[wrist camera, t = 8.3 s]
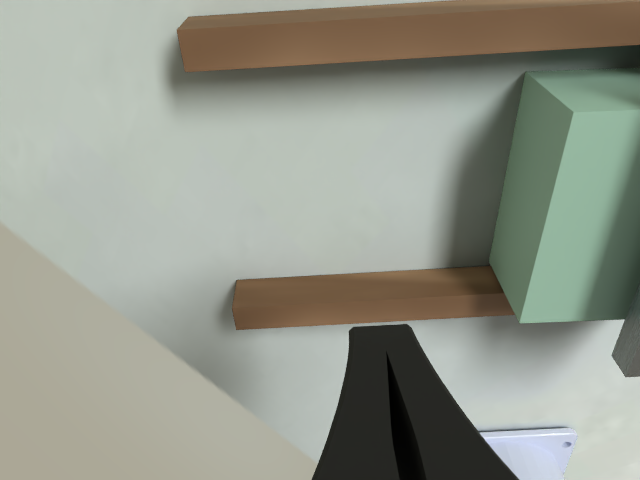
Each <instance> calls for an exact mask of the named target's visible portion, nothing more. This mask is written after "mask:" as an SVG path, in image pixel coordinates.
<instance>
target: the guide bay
mask: <svg viewBox="0 0 640 480" xmlns="http://www.w3.org/2000/svg"><path fill="white" fill-rule="evenodd" d="M177 34H178V39H179V44H180V49H181V54H182V59H183V64H184V69H185V72H196V71H213V70H229V69H246V68H263V67H279V66H296V65H312V64H329V63H345V62H362V61H378V60H395V59H411V58H428V57H444V56H461V55H478V54H494V53H511V52H527V51H544V50H560V49H577V48H593V47H610V46H626V45H640V0H453V1H437V2H421V3H405V4H388V5H372V6H356V7H340V8H324V9H307V10H291V11H275V12H259V13H243V14H226V15H210V16H194V17H188V18H187V19H186V20H185V21H184V22H183V23H182V25H181V26H180V27H179V28H178V29H177ZM232 311H233V316H234V321H235V326H236V330H244V329H262V328H281V327H299V326H317V325H336V324H354V323H372V322H391V321H409V320H428V319H446V318H464V317H483V316H501V315H515V313H514V311H513V309H512V307H511V305H510V303H509V301H508V299H507V297H506V295H505V293H504V291H503V289H502V287H501V285H500V283H499V281H498V279H497V277H496V275H495V273H494V271H493V269H492V267H491V266H480V267H462V268H444V269H426V270H408V271H390V272H372V273H354V274H336V275H319V276H301V277H283V278H265V279H247V280H237V282H236V288H235V294H234V299H233V305H232ZM612 357H613V359H614V360H615V362H616V363H617V365H618V366H619V368H620V369H621V371H622V372H623V374H624V376H625V377H638V376H640V281H639V284H638V287H637V289H636V292H635V295H634V297H633V300H632V303H631V305H630V308H629V311H628V313H627V316H626V318H625V321H624V324H623V326H622V329H621V332H620V334H619V337H618V340H617V342H616V345H615V348H614V350H613V353H612Z"/></svg>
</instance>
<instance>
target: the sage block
mask: <svg viewBox="0 0 640 480" xmlns="http://www.w3.org/2000/svg"><path fill="white" fill-rule="evenodd" d="M489 263H490V265H491V267H492V269H493V271H494V273H495V275H496V277H497V279H498V281H499V283H500V285H501V287H502V289H503V291H504V293H505V295H506V297H507V299H508V301H509V303H510V305H511V307H512V309H513V311H514V313H515V315H516V317H517V320H518V322H519V323H542V322H568V321H594V320H620V319H625V318H626V316H627V313H628V311H629V308H630V305H631V303H632V300H633V297H634V295H635V292H636V289H637V287H638V284H639V281H640V68H617V69H588V70H560V71H532V72H525V77H524V82H523V87H522V92H521V98H520V103H519V108H518V113H517V118H516V123H515V129H514V134H513V139H512V144H511V149H510V154H509V160H508V165H507V170H506V175H505V180H504V185H503V191H502V196H501V201H500V206H499V211H498V217H497V222H496V227H495V232H494V237H493V242H492V248H491V253H490V258H489Z"/></svg>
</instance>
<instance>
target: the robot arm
mask: <svg viewBox="0 0 640 480" xmlns="http://www.w3.org/2000/svg"><path fill="white" fill-rule="evenodd" d="M576 441H577V434H576V432H575V430H574V429H572V428H555V429H535V430H516V431H497V432H478V431H477V429H476V428H475V427H474V425H473V424H472V423H471V421H470V420H469V419H468V418H467V416H466V415H465V414H464V412H463V411H462V409H461V408H460V407H459V405H458V404H457V402H456V401H455V400H454V398H453V397H452V395H451V394H450V392H449V391H448V389H447V388H446V386H445V385H444V384H443V382H442V381H441V379H440V377H439V376H438V374H437V373H436V371H435V370H434V368H433V366H432V365H431V363H430V361H429V360H428V358H427V356H426V355H425V353H424V351H423V349H422V348H421V346H420V344H419V342H418V340H417V338H416V336H415V334H414V332H413V330H412V328H411V327H410V326H409V325H407V324H400V325H381V326H362V327H353V328H352V329H351V330H349V353H348V361H347V367H346V372H345V377H344V382H343V386H342V390H341V394H340V398H339V402H338V406H337V410H336V413H335V416H334V419H333V422H332V425H331V429H330V432H329V435H328V438H327V441H326V444H325V447H324V449H323V452H322V455H321V457H320V460H319V463H318V465H317V468H316V470H315V473H314V475H313V478H312V480H565V478H564V476H563V475H564V473H565V470H566V467H567V465H568V462H569V459H570V457H571V454H572V451H573V449H574V446H575V443H576Z"/></svg>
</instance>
